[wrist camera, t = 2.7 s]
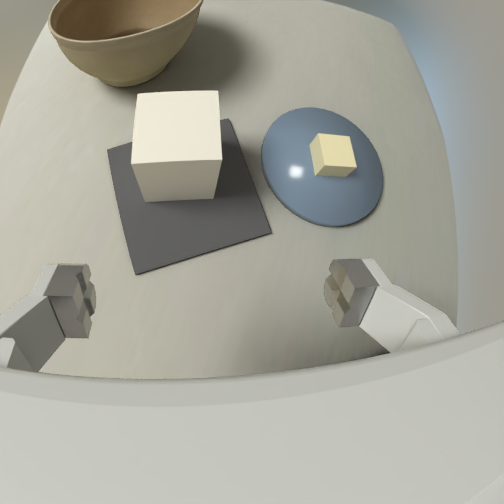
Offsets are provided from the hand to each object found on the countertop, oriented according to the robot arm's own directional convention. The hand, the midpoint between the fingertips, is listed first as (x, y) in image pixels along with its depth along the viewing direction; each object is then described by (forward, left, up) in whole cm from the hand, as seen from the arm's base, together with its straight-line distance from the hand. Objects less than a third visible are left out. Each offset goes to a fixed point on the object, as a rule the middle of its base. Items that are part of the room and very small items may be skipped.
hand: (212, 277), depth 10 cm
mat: (+10, -2, -18) cm, 21 cm away
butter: (+9, -17, -18) cm, 26 cm away
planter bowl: (+29, 0, -18) cm, 34 cm away
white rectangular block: (+12, -2, -18) cm, 21 cm away
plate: (+9, -17, -18) cm, 26 cm away
